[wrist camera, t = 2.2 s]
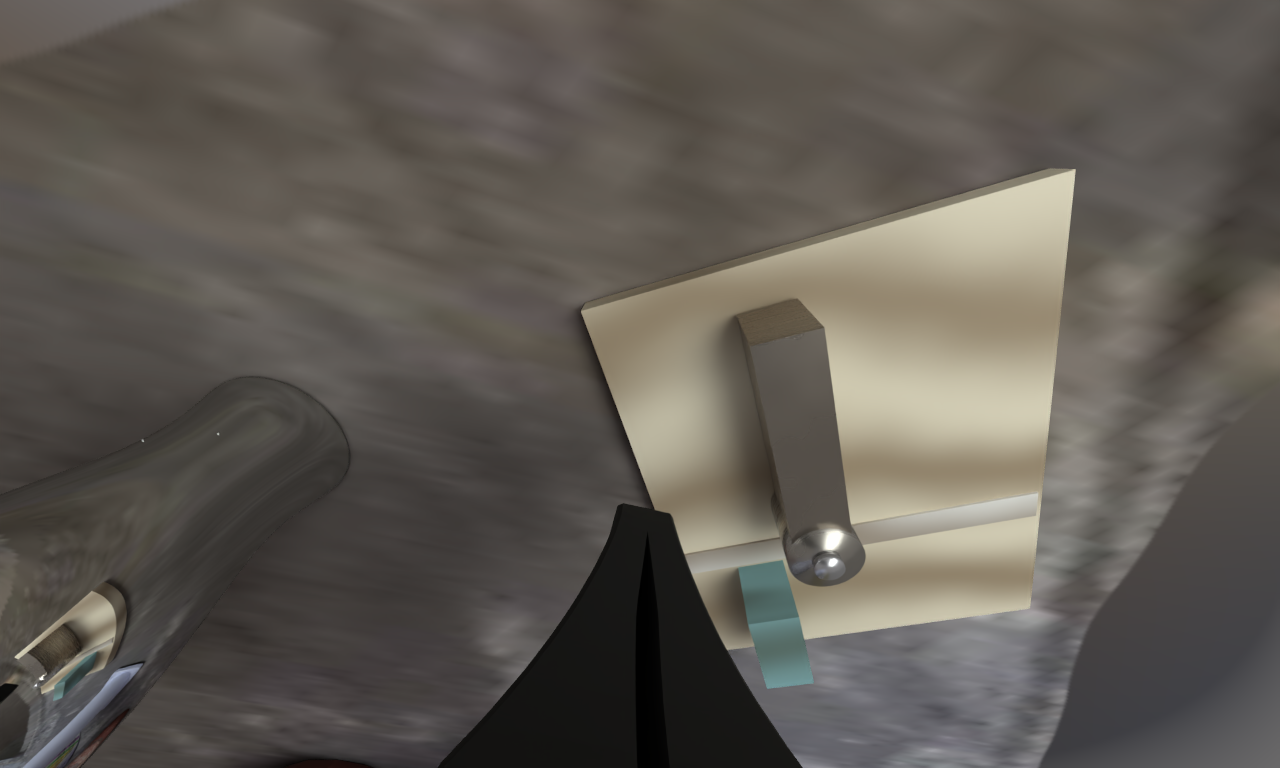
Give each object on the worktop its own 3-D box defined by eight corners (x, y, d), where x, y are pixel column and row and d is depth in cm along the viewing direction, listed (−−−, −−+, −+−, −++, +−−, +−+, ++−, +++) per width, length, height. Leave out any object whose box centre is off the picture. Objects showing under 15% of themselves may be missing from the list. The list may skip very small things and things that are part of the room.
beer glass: (391, 480, 21) (-119, 1084, 7) (271, 513, 22) (-350, 1075, 9) (293, 344, 18) (-859, 928, 4) (161, 392, 19) (-1028, 949, 6)
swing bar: (839, 519, 19) (873, 589, 16) (776, 530, 19) (796, 601, 16) (806, 295, 15) (843, 332, 12) (727, 316, 15) (742, 357, 12)
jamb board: (1015, 589, 22) (1079, 670, 18) (706, 634, 24) (713, 711, 21) (1049, 168, 14) (1175, 172, 10) (585, 302, 16) (564, 341, 13)
